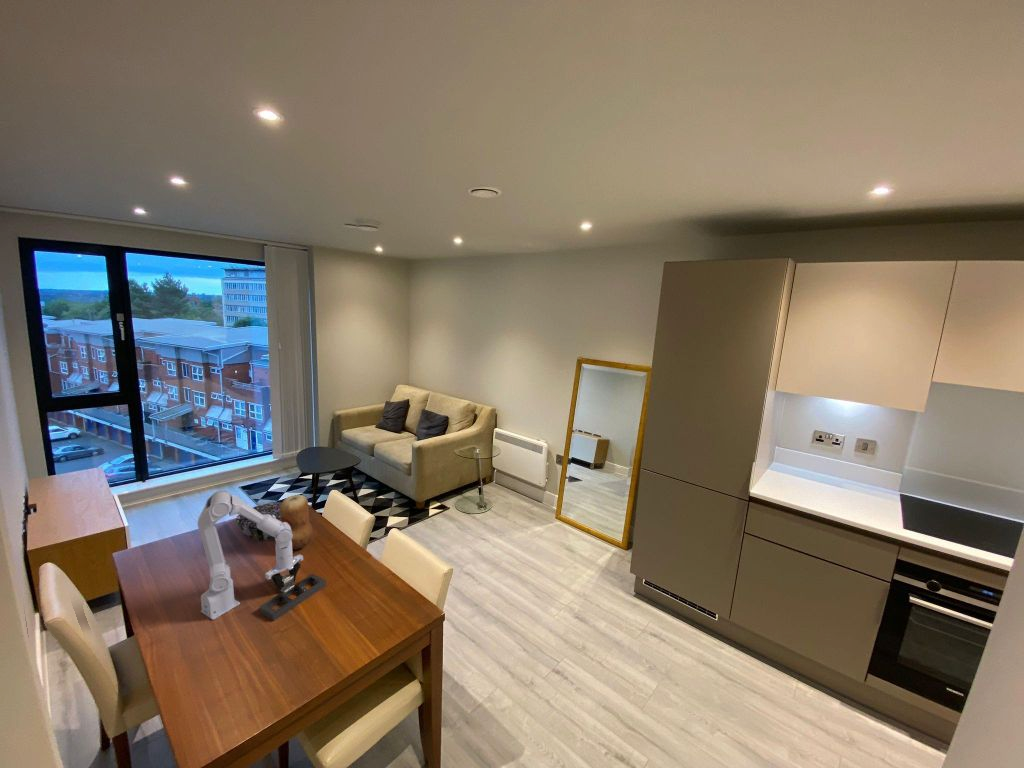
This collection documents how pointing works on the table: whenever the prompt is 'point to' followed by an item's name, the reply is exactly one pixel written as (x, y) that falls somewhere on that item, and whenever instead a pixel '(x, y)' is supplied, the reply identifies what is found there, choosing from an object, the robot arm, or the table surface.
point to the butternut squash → (297, 519)
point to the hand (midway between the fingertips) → (285, 585)
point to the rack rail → (289, 603)
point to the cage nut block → (287, 581)
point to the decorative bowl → (251, 527)
